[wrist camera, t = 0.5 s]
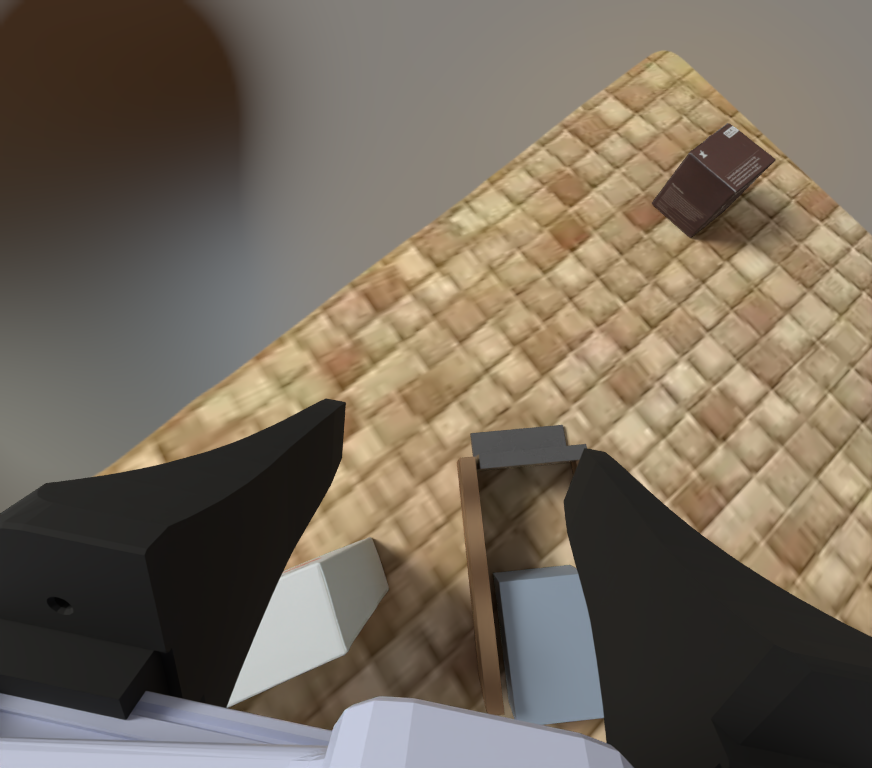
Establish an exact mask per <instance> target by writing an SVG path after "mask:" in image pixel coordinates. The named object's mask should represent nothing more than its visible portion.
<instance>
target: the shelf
mask: <svg viewBox="0 0 872 768" xmlns="http://www.w3.org/2000/svg"><path fill="white" fill-rule="evenodd" d="M578 463H579V461H574V462H571V466H572V471H573V476H574V473H575V471H576V468H577V465H578ZM457 468H458V478H459V488H460V497H461V507H462V517H463V526H464V536H465V546H466V556H467V565H468V575H469V585H470V594H471V604H472V614H473V623H474V633H475V643H476V652H477V662H478V672H479V679H480V684H481V688H482V693H483V698H484V702H485V707H486V711H487V714H491V715H504V706H503V697H502V688H501V679H500V671H499V662H498V653H497V645H496V636H495V627H494V618H493V610H492V601H491V592H490V584H489V575H488V566H487V557H486V549H485V540H484V531H483V523H482V514H481V505H480V496H479V488H478V479H477V470H476V462H475V457H464V458H460V459H459V460H458V462H457Z"/></svg>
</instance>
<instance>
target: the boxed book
mask: <svg viewBox="0 0 872 768" xmlns="http://www.w3.org/2000/svg"><path fill="white" fill-rule="evenodd" d="M493 576H494V584H495V593H496V601H497V609H498V617H499V625H500V634H501V642H502V650H503V658H504V666H505V675H506V683H507V691H508V699H509V704H510V707H511V710H512V713H513V716H514V719H515V720H520V721H525V722H529V723H534V724H539V725H544V724H553V723H562V722H571V721H580V720H589V719H598V718H604V713H603V704H602V696H601V689H600V682H599V674H598V667H597V660H596V654H595V647H594V641H593V635H592V629H591V623H590V618H589V614H588V609H587V605H586V601H585V597H584V594H583V590H582V586H581V582H580V579H579V575H578V571H577V569H576V568H574V567H573V566H571V565H564V566H555V567H545V568H536V569H526V570H516V571H507V572H497V573H493Z"/></svg>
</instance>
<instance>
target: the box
mask: <svg viewBox="0 0 872 768" xmlns="http://www.w3.org/2000/svg"><path fill="white" fill-rule="evenodd" d="M774 161H775V159H774V158H773V157H772V156H771V155H769V154H768V153H767V152H766V151H764V150H763V149H762V148H760V147H759V146H758V145H757V144H755V143H754V142H753V141H752V140H750V139H749V138H748V137H747V136H745V135H744V134H743V133H742V132H740V131H739V130H738V129H737V128H735V127H734V126H732V125H731V124H729V123H727V124H726V125H725V126H723V127H722V128H721V129H719V130H718V131H717V132H716V133H714V134H713V135H711V136H709V137H708V138H707V139H706V140H705V141H704V142H703V143H701V144H700V145H699V146H697V147H696V148H695V149H693V150H692V151H691V152H689V154H688V155H687V157H686V158H685V159H684V160H683V162H682V163H681V164H680V166H679V167H678V168H677V170H676V171H675V172H674V174H673V175H672V176H671V178H670V179H669V180H668V182H667V183H666V184H665V186H664V187H663V188H662V190H661V191H660V193H659V194H658V195H657V197H656V198H655V199H654V200H653V202H652V204H653V205H654V206H655V207H656V208H657V209H658V210H659V211H660V212H661V213H662V214H664V215H665V216H666V217H667V218H668V219H670V220H671V221H672V222H673V223H674V224H675V225H676V226H677V227H678V228H680V229H681V230H682V231H683V232H684V233H685V234H686V235H687V236H689V237H692V236H694V235H695V234H696V233H698V232H699V231H700V230H701V229H703V228H704V227H705V226H707V225H708V224H709V223H710V222H711V221H713V220H714V219H715V218H716V217H717V216H719V215H720V214H721V213H722V212H724V211H725V210H726V209H727V208H728V207H729V206H730V205H731V204H732V203H733V202H734V201H735V200H736V199H737V198H738V197H739V196H740V195H741V194H742V193H743V192H744V191H745V190H746V189H747V188H748V187H749V186H750V185H751V184H752V183H753V182H754V181H755V180H756V179H757V178H758V177H759V176H760V175H761V174H762V173H763V172H764V171H765V170H766V169H767V168H768V167H769V166H770V165H771V164H772V163H773V162H774Z"/></svg>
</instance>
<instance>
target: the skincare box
mask: <svg viewBox="0 0 872 768" xmlns="http://www.w3.org/2000/svg"><path fill="white" fill-rule="evenodd" d="M388 590H389V587H388V583H387V580H386V577H385V574H384V570H383V567H382V564H381V561H380V558H379V555H378V552H377V550H376V547H375V545H374V542H373V540H372V538H371V537H369V538H366V539H364V540H361V541H358V542H355V543H353V544H350V545H347V546H344V547H342V548H339V549H337V550H334V551H331V552H329V553H326V554H324V555H321V556H319V557H317V558H314V559H312V560H309V561H307V562H304V563H302V564H300V565H297V566H295V567H292V568H290V569H287V570H285V571H283V573H282V575H281V577H280V579H279V582H278V584H277V586H276V588H275V591H274V593H273V595H272V597H271V600H270V602H269V604H268V607H267V609H266V611H265V614H264V616H263V618H262V621H261V623H260V625H259V628H258V630H257V632H256V635H255V637H254V640H253V642H252V645H251V647H250V650H249V652H248V654H247V657H246V659H245V662H244V664H243V667H242V669H241V672H240V674H239V677H238V679H237V682H236V684H235V687H234V689H233V692H232V695H231V697H230V700H229V702H228V705H227V708H228V707H231V706H233V705H235V704H237V703H239V702H242V701H244V700H246V699H248V698H250V697H252V696H255V695H257V694H259V693H261V692H263V691H266V690H268V689H270V688H272V687H274V686H276V685H279V684H281V683H283V682H285V681H287V680H290V679H292V678H294V677H296V676H298V675H301V674H303V673H305V672H307V671H309V670H312V669H314V668H316V667H318V666H321V665H323V664H325V663H327V662H330V661H332V660H334V659H336V658H339V657H341V656H343V655H345V654H346V653H347V652H348V651H349V649H350V647H351V645H352V643H353V642H354V640H355V639H356V637H357V636H358V634H359V633H360V631H361V630H362V628H363V627H364V625H365V624H366V622H367V621H368V619H369V618H370V617H371V615H372V614H373V612H374V611H375V609H376V608H377V606H378V604H379V603H380V601H381V600H382V598H383V597H384V595H385V594H386V593H387V592H388Z"/></svg>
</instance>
